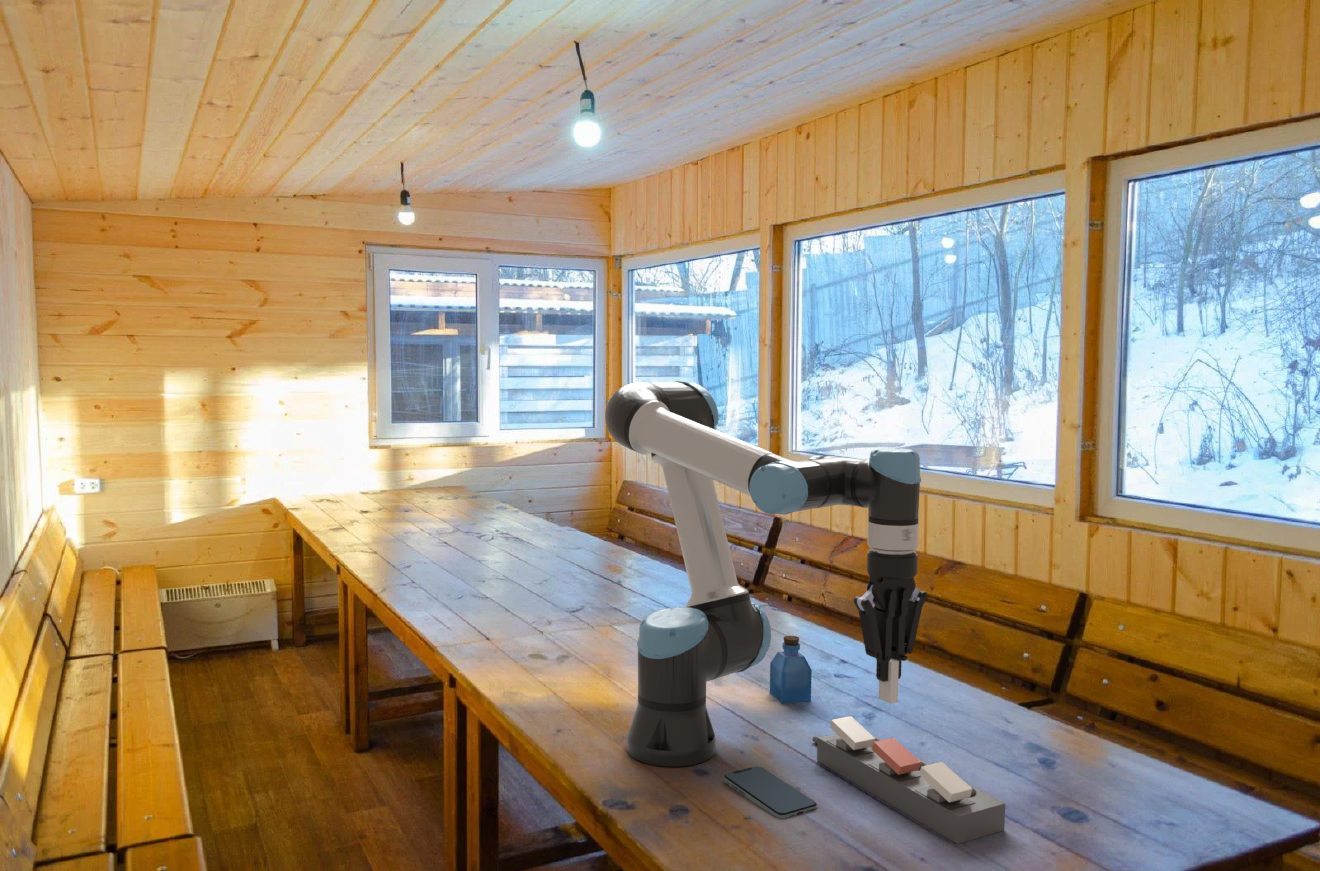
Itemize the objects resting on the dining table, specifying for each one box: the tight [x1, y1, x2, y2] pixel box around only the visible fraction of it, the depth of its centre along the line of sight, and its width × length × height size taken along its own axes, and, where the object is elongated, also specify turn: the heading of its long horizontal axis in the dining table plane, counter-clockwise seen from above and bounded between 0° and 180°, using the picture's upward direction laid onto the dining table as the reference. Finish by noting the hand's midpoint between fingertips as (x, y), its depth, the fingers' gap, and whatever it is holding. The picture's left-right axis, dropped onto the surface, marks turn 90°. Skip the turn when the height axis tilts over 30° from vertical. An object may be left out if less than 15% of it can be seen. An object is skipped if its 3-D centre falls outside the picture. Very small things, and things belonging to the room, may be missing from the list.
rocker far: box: [829, 715, 875, 750], centre depth 163 cm, size 6×4×1 cm, turn 28°
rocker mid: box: [872, 737, 921, 775], centre depth 153 cm, size 6×4×1 cm, turn 28°
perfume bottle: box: [769, 635, 813, 704], centre depth 198 cm, size 6×6×12 cm
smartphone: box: [723, 765, 818, 819], centre depth 154 cm, size 8×2×15 cm
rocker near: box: [919, 761, 972, 803], centre depth 144 cm, size 6×4×1 cm, turn 28°
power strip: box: [812, 733, 1006, 845], centre depth 158 cm, size 39×9×5 cm, turn 28°
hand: (888, 700), depth 155 cm, fingers closed
